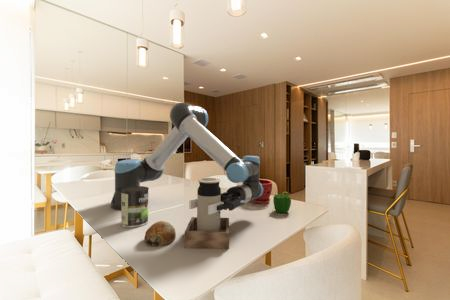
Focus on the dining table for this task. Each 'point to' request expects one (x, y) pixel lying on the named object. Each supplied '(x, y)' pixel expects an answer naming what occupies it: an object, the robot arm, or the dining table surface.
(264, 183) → the plant pot
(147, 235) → the bread roll
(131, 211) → the coffee can
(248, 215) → the dining table surface
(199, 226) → the travel mug
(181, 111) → the robot arm
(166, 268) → the dining table surface
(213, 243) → the walnut crate
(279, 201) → the bell pepper
